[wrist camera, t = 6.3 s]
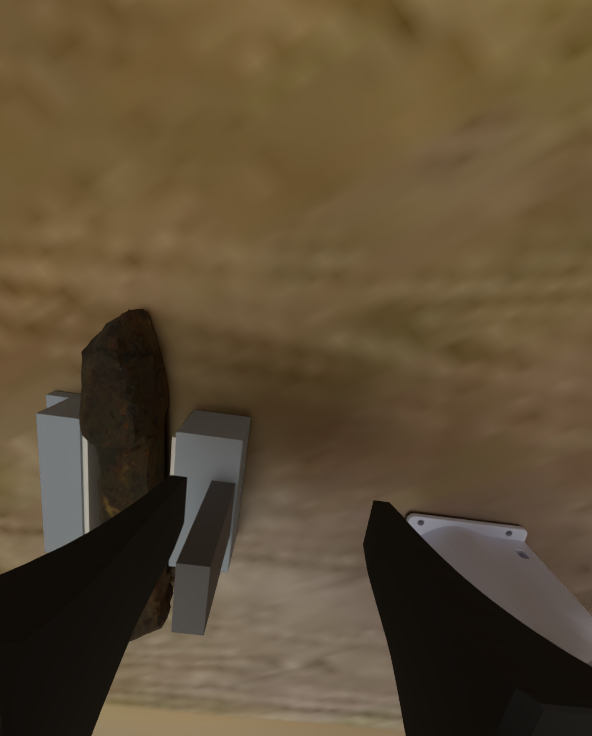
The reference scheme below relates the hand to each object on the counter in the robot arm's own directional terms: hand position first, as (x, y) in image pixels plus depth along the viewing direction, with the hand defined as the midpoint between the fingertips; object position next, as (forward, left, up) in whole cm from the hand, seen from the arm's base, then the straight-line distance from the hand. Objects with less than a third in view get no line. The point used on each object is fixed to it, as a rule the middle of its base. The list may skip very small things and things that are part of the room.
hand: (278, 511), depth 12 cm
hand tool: (+10, +6, -11) cm, 16 cm away
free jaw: (+4, +6, -10) cm, 13 cm away
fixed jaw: (+13, +6, -10) cm, 18 cm away
